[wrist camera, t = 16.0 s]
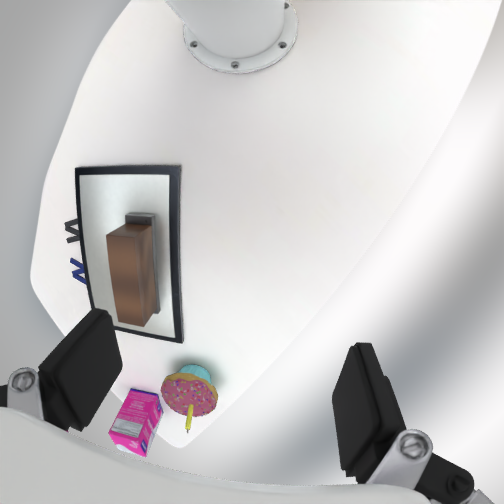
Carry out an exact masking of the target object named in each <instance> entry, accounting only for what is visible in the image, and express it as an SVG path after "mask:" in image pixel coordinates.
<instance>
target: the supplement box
mask: <svg viewBox="0 0 504 504" xmlns="http://www.w3.org/2000/svg"><path fill="white" fill-rule="evenodd" d="M162 415H163V410H162V408H161V404H160V401H159V397H158V394H154V393H149V392H144V391H140V390H136V389H132V388H131V389H130V391H129V393H128V395H127V397H126V399H125V401H124V403H123V405H122V407H121V409H120V411H119V413H118V415H117V417H116V419H115V421H114V423H113V425H112V427H111V428H110V430H109V435H110V437H111V438H112V440H113V442H114V443H115V445H116V446H117V448H118V449H119V450H121V451H125V452H129V453H132V454H135V455H139V456H142V457H147V454H148V452H149V449H150V447H151V444H152V441H153V439H154V436H155V433H156V431H157V428H158V425H159V423H160V420H161V418H162Z"/></svg>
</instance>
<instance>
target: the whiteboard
mask: <svg viewBox="0 0 504 504" xmlns="http://www.w3.org/2000/svg"><path fill="white" fill-rule="evenodd" d="M180 171H181V166H173V165H122V166H92V167H77V168H75V187H76V205H77V218H78V229H79V238H80V246H81V253H82V260H83V267H84V273H85V279H86V284H87V290H88V295H89V300H90V304H91V309H93V308H99V309H104V310H107V311H108V312H109V314H110V315H111V316H112V320H113V325H114V330H119V331H123V332H127V333H132V334H136V335H141V336H145V337H150V338H155V339H160V340H165V341H171V342H176V343H183V341H184V335H183V320H182V302H181V278H180ZM128 213H132V214H148V215H155V240H156V260H157V276H158V289H159V301H160V312H159V314H153V315H152V316H151V318H150V319H149V321H148V322H147V323H146V325H145V326H144V327H140V326H135V325H130V324H126V323H121V322H118V318H117V313H116V308H115V302H114V296H113V290H112V283H111V276H110V269H109V261H108V252H107V243H106V235H107V234H108V233H110V232H112V231H113V230H115V229H117V228H118V227H120V226H122V225H124V224H125V215H126V214H128Z"/></svg>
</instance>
